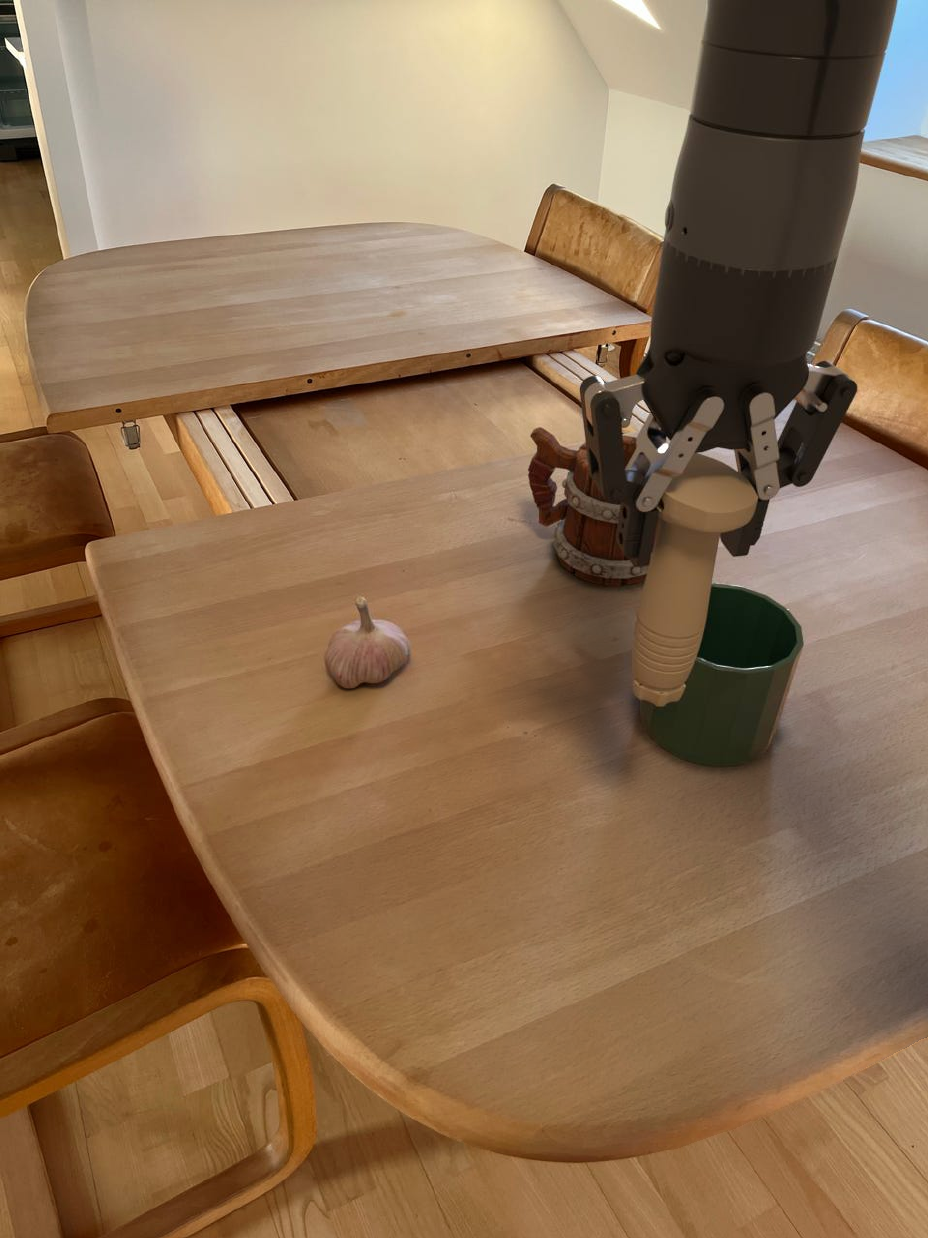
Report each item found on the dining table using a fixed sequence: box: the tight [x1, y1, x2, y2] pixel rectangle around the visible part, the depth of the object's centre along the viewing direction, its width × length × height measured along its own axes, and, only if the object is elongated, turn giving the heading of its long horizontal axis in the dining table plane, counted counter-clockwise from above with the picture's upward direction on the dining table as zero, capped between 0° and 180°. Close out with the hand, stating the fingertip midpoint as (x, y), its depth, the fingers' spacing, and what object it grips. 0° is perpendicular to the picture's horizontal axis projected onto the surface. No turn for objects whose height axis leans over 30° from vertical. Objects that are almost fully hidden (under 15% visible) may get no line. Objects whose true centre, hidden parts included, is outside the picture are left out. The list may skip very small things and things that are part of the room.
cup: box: [639, 582, 805, 768], centre depth 75 cm, size 11×11×10 cm
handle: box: [631, 453, 758, 707], centre depth 53 cm, size 5×6×15 cm
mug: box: [527, 426, 660, 587], centre depth 93 cm, size 12×14×15 cm
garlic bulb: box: [324, 596, 412, 689], centre depth 80 cm, size 8×7×8 cm
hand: (685, 552), depth 52 cm, fingers closed on handle, 5 cm apart
